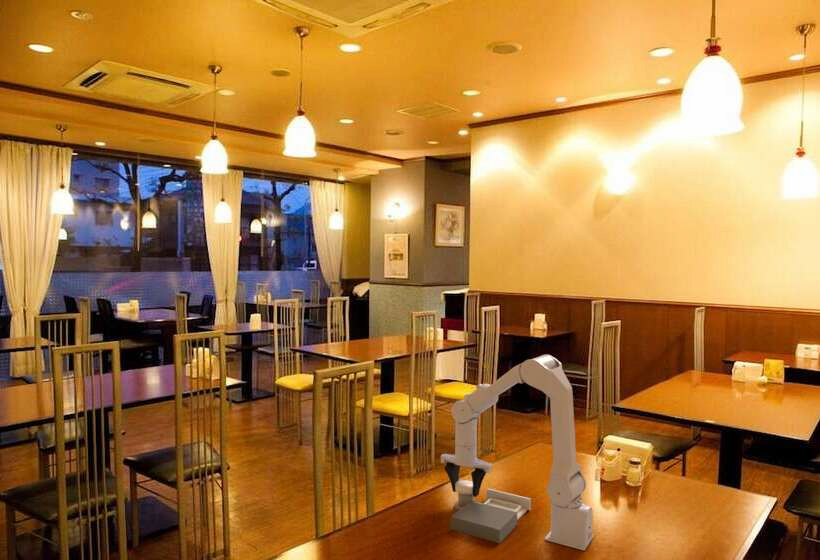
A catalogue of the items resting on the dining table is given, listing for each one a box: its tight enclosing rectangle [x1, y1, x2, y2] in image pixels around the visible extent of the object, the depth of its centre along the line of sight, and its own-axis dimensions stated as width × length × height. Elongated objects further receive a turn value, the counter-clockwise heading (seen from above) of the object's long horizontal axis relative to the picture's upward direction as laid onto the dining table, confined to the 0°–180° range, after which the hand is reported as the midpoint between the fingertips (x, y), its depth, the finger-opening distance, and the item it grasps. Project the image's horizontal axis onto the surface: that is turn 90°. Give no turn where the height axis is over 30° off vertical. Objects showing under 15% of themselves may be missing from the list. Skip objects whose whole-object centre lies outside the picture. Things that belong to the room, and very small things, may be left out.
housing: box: [450, 500, 518, 545], centre depth 144 cm, size 13×11×3 cm
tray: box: [482, 487, 532, 521], centre depth 153 cm, size 13×11×3 cm
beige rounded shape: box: [455, 479, 473, 494], centre depth 156 cm, size 6×6×2 cm
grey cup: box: [454, 492, 474, 511], centre depth 156 cm, size 6×6×5 cm
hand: (465, 493), depth 156 cm, fingers closed on beige rounded shape, 6 cm apart
